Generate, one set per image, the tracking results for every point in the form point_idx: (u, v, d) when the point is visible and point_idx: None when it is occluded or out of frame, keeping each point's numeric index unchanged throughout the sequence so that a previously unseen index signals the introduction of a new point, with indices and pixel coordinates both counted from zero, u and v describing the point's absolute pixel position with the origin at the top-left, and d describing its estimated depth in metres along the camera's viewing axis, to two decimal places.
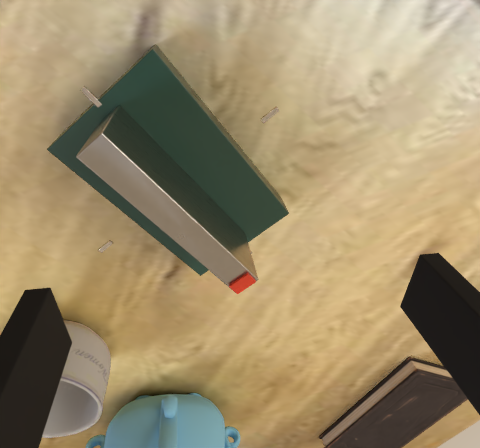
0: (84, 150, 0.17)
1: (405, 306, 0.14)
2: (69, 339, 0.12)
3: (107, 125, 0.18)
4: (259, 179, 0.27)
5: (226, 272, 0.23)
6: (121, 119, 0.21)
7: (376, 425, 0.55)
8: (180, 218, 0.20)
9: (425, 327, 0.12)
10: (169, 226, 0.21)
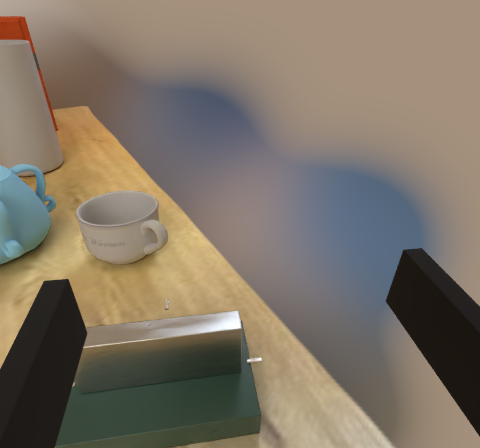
0: (238, 315, 0.29)
1: (390, 301, 0.14)
2: (85, 329, 0.12)
3: (241, 340, 0.28)
4: (114, 436, 0.26)
5: (94, 333, 0.27)
6: (235, 359, 0.30)
7: None
8: (162, 332, 0.27)
9: (408, 321, 0.13)
10: (162, 323, 0.28)
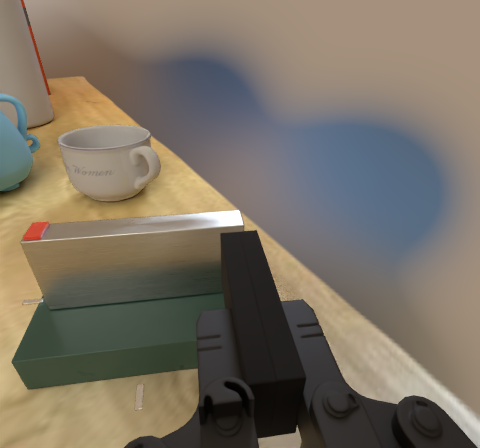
0: (240, 214, 0.23)
1: None
2: None
3: None
4: (85, 352, 0.21)
5: (63, 228, 0.22)
6: None
7: None
8: (146, 227, 0.22)
9: None
10: (147, 220, 0.23)
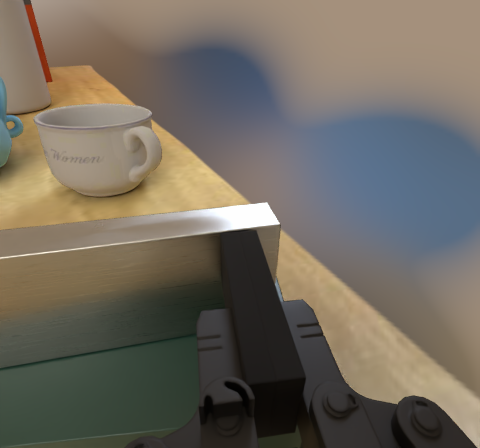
0: (270, 208, 0.15)
1: None
2: None
3: (277, 251, 0.15)
4: (12, 443, 0.12)
5: None
6: None
7: None
8: (123, 234, 0.13)
9: None
10: (125, 223, 0.14)
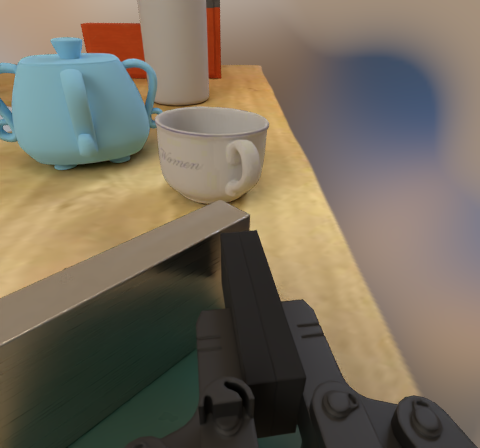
0: None
1: None
2: None
3: None
4: None
5: None
6: None
7: None
8: (107, 276, 0.11)
9: None
10: (95, 264, 0.12)
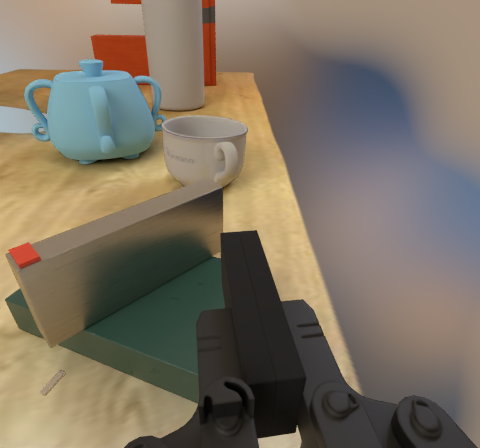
0: None
1: None
2: None
3: (222, 203, 0.26)
4: None
5: (53, 242, 0.19)
6: (218, 232, 0.27)
7: None
8: (144, 213, 0.22)
9: None
10: (136, 208, 0.22)
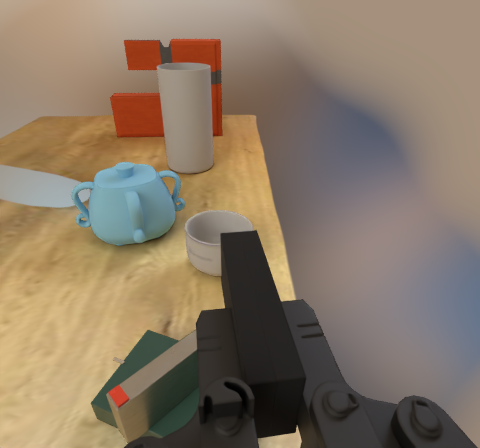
0: None
1: None
2: None
3: None
4: None
5: (133, 382, 0.30)
6: None
7: None
8: (186, 350, 0.32)
9: None
10: (181, 345, 0.33)
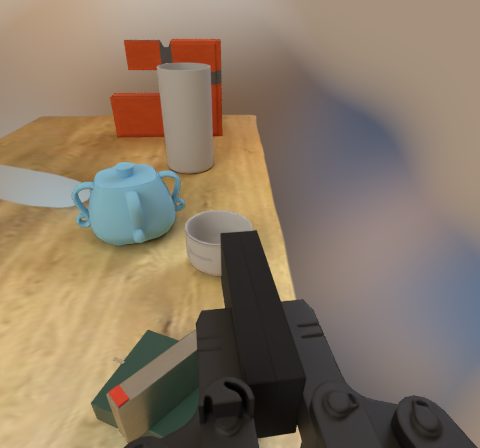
0: None
1: None
2: None
3: None
4: None
5: (133, 382, 0.30)
6: None
7: None
8: (186, 350, 0.32)
9: None
10: (181, 345, 0.33)
